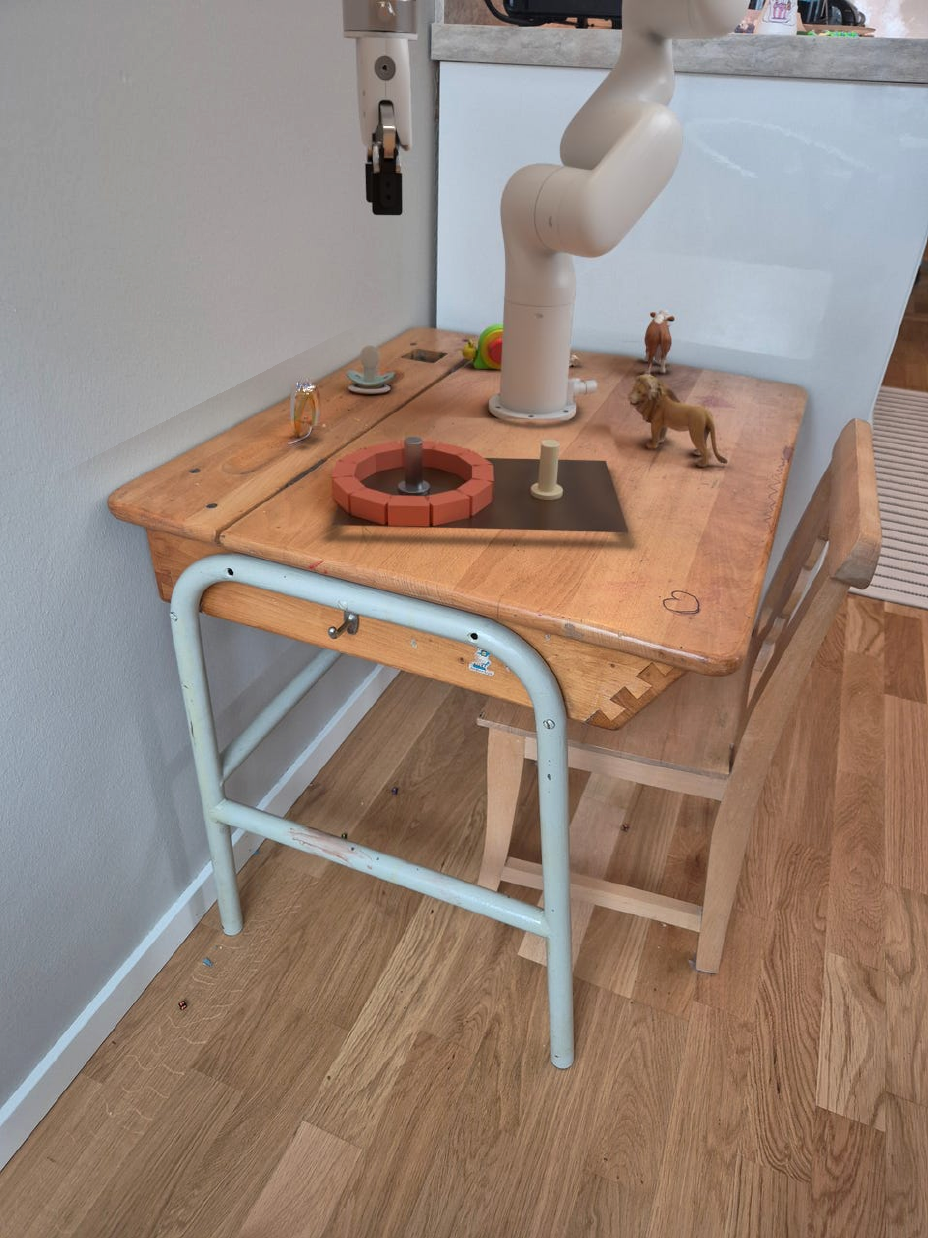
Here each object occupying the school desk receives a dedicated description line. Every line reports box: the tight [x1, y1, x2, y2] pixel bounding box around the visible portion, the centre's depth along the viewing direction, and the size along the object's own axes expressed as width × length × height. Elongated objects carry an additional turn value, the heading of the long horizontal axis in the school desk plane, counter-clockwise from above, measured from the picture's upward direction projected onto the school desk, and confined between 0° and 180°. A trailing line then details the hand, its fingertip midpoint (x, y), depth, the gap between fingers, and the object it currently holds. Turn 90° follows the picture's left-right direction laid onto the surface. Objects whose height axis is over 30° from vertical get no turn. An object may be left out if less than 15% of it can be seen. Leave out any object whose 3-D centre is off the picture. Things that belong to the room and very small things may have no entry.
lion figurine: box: [627, 373, 728, 468], centre depth 110 cm, size 15×5×9 cm, turn 50°
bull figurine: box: [642, 309, 675, 375], centre depth 141 cm, size 4×13×8 cm, turn 167°
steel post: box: [398, 436, 430, 496], centre depth 95 cm, size 4×4×6 cm
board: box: [332, 457, 629, 533], centre depth 98 cm, size 31×19×2 cm, turn 89°
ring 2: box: [330, 440, 494, 528], centre depth 96 cm, size 18×18×2 cm
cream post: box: [531, 439, 563, 500], centre depth 95 cm, size 4×4×6 cm
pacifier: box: [345, 345, 396, 395], centre depth 129 cm, size 7×6×6 cm
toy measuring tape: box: [461, 323, 580, 370], centre depth 140 cm, size 6×20×7 cm, turn 96°
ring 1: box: [289, 378, 322, 439], centre depth 111 cm, size 7×3×8 cm, turn 160°
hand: (383, 208), depth 96 cm, fingers open, 9 cm apart
